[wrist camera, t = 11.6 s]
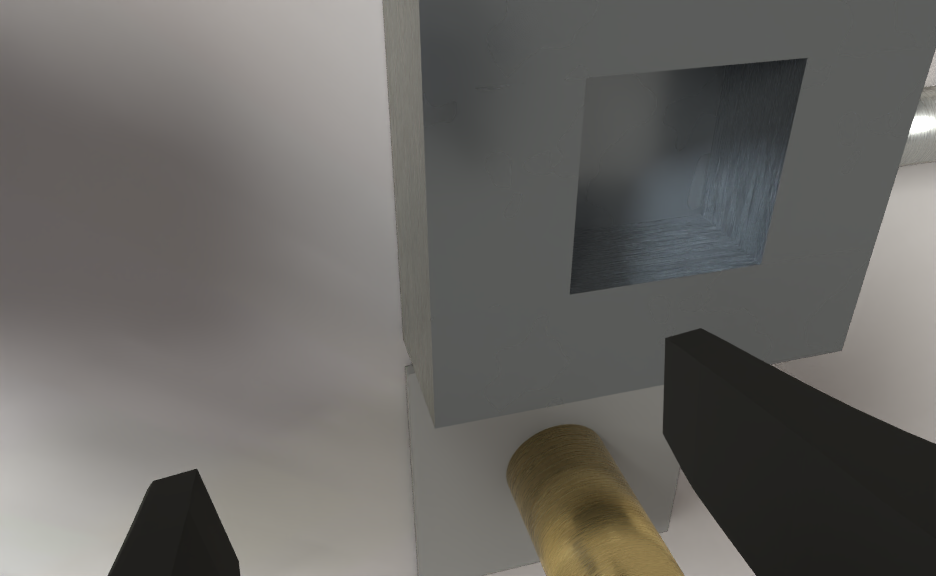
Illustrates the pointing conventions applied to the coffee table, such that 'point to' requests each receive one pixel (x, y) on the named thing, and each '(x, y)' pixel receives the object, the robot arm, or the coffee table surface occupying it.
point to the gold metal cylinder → (583, 508)
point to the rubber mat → (485, 485)
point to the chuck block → (639, 182)
